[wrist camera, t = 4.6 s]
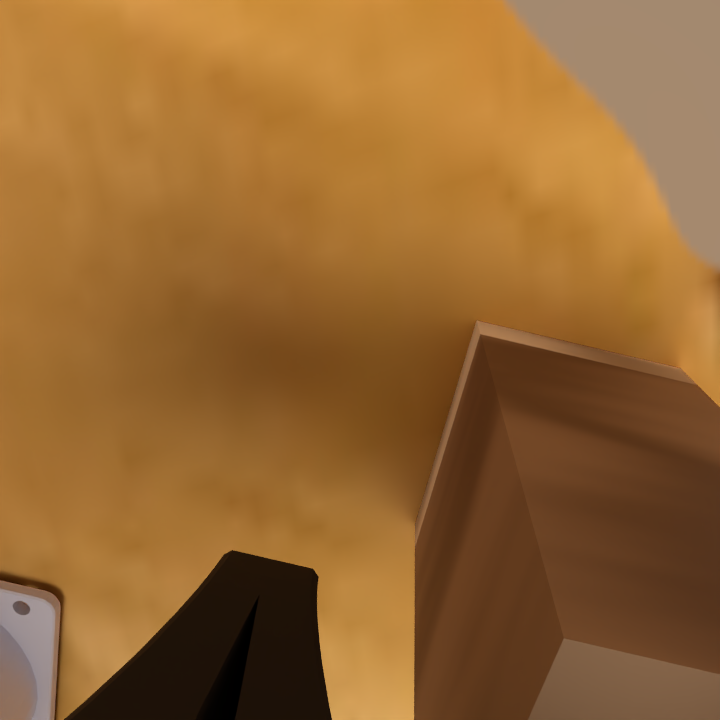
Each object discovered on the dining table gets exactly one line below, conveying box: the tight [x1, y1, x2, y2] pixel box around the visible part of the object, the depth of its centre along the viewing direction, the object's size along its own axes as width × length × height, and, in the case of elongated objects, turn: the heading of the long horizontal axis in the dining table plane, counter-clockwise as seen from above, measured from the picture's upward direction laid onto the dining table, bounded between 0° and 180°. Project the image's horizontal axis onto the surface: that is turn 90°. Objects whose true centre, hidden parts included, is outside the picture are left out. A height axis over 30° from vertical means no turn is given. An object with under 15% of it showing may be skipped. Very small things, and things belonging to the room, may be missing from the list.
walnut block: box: [414, 321, 720, 720], centre depth 12 cm, size 5×6×10 cm
